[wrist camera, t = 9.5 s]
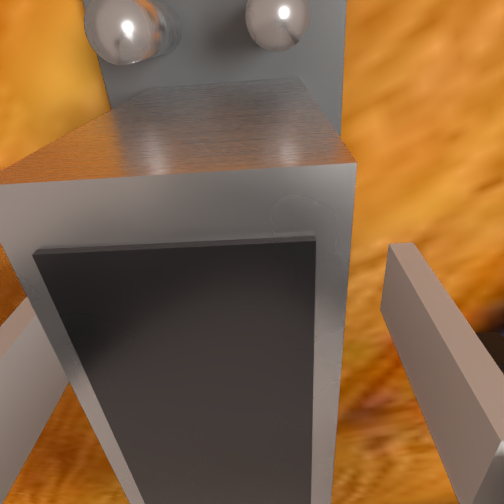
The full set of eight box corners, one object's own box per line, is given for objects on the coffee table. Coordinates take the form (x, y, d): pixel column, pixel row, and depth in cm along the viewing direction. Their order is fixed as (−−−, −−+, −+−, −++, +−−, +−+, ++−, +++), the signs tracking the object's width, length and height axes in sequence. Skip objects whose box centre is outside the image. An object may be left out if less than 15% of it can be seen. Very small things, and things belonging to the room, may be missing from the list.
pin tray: (325, 367, 21) (341, 458, 17) (188, 371, 22) (169, 460, 17) (341, -58, 11) (391, -111, 7) (89, -31, 12) (-15, -64, 7)
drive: (300, 339, 18) (326, 569, 11) (202, 342, 19) (157, 567, 11) (299, 76, 12) (359, 166, 4) (151, 87, 13) (-35, 190, 5)
